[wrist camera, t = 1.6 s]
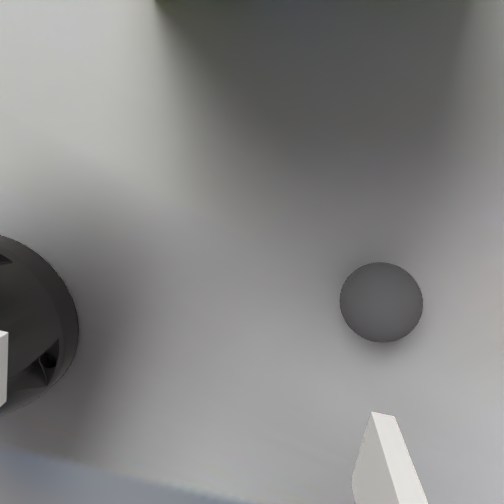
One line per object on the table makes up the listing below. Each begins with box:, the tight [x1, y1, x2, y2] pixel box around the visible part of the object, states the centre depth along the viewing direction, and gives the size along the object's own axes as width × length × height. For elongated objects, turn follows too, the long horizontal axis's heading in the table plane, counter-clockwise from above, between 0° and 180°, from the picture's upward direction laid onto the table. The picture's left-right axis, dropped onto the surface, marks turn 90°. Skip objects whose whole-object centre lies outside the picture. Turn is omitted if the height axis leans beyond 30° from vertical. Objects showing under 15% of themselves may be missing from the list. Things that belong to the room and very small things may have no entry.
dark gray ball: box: [340, 263, 423, 342], centre depth 28 cm, size 6×6×6 cm
